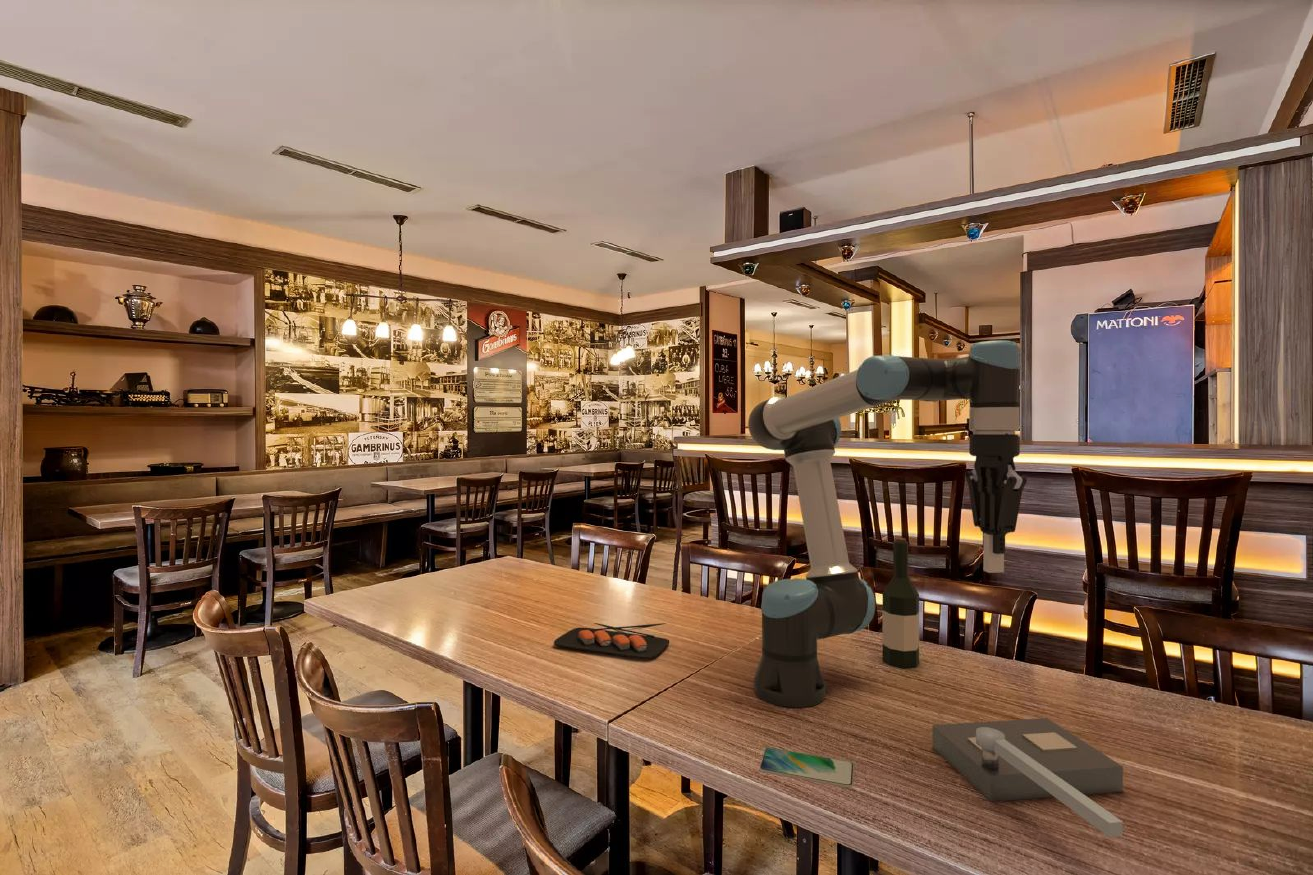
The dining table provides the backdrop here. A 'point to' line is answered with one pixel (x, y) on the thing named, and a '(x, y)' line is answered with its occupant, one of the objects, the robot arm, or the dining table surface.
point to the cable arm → (1050, 782)
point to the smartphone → (808, 767)
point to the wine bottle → (900, 613)
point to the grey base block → (1038, 742)
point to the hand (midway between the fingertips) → (993, 571)
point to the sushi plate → (614, 641)
